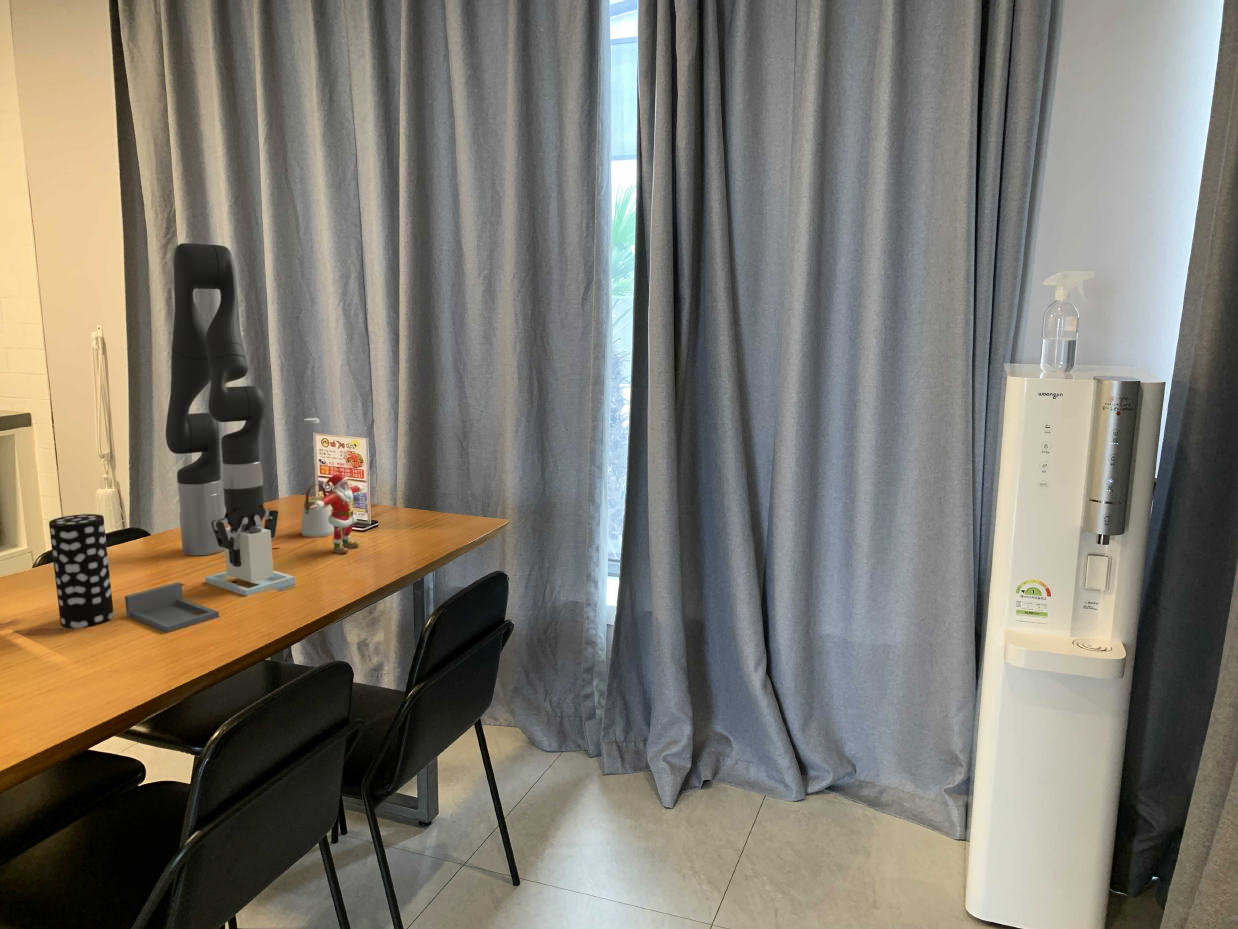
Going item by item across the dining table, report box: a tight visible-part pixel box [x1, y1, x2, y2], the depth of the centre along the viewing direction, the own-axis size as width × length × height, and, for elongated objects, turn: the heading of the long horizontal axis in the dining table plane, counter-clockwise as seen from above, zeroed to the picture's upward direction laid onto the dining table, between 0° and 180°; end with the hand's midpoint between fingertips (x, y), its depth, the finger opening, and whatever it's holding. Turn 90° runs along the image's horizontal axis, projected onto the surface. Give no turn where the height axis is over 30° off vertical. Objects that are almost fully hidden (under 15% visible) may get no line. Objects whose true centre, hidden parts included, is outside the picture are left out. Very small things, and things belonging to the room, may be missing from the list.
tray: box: [204, 569, 296, 597], centre depth 177 cm, size 15×11×2 cm
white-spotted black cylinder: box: [48, 513, 115, 629], centre depth 153 cm, size 8×8×20 cm
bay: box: [124, 581, 220, 634], centre depth 156 cm, size 14×10×5 cm
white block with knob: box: [224, 526, 274, 584], centre depth 176 cm, size 9×5×11 cm, turn 56°
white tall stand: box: [300, 417, 334, 538], centre depth 217 cm, size 8×8×30 cm
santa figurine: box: [310, 473, 366, 555], centre depth 203 cm, size 25×6×19 cm, turn 169°
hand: (248, 562), depth 176 cm, fingers closed on white block with knob, 5 cm apart
